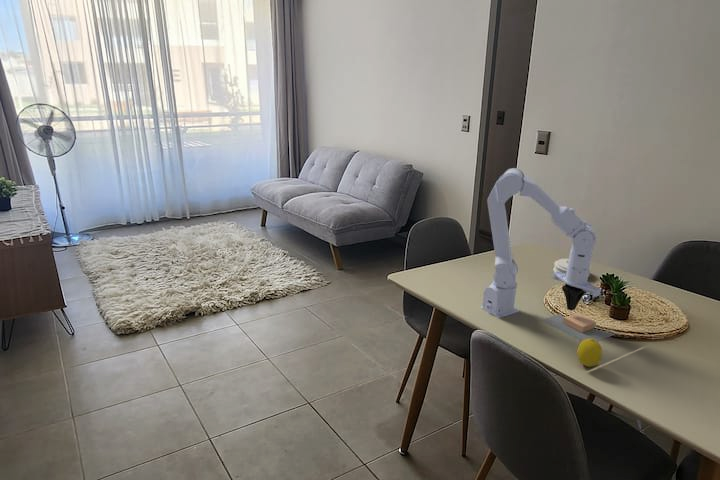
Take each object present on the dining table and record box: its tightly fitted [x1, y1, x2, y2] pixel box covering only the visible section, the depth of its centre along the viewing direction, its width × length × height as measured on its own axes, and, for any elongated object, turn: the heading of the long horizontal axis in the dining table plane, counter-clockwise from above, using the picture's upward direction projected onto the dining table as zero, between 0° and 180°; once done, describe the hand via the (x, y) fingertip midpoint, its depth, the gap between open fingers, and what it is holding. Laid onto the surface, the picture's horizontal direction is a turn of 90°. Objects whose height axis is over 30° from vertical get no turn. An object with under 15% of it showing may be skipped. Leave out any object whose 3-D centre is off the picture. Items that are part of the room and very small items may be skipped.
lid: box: [552, 258, 591, 278], centre depth 173 cm, size 13×13×5 cm
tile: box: [563, 312, 597, 332], centre depth 135 cm, size 6×2×6 cm
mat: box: [541, 313, 616, 343], centre depth 135 cm, size 12×16×1 cm
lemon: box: [576, 338, 603, 367], centre depth 115 cm, size 6×6×8 cm
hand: (571, 309), depth 137 cm, fingers closed
